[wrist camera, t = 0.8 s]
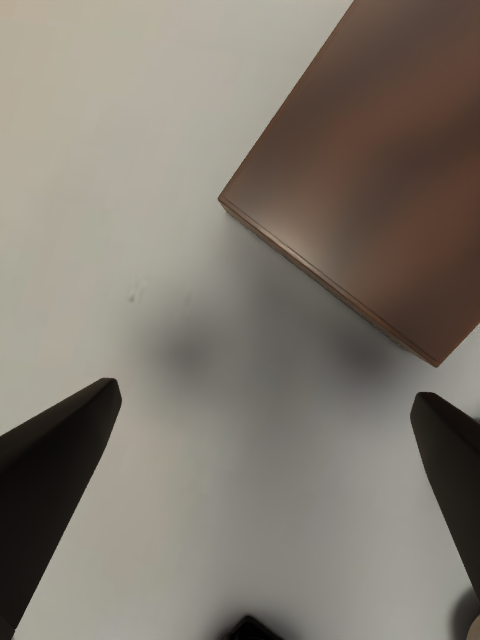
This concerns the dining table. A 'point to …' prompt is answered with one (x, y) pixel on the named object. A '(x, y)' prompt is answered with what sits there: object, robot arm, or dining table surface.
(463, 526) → the robot arm
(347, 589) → the dining table surface
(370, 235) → the walnut block
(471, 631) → the decorative stone
